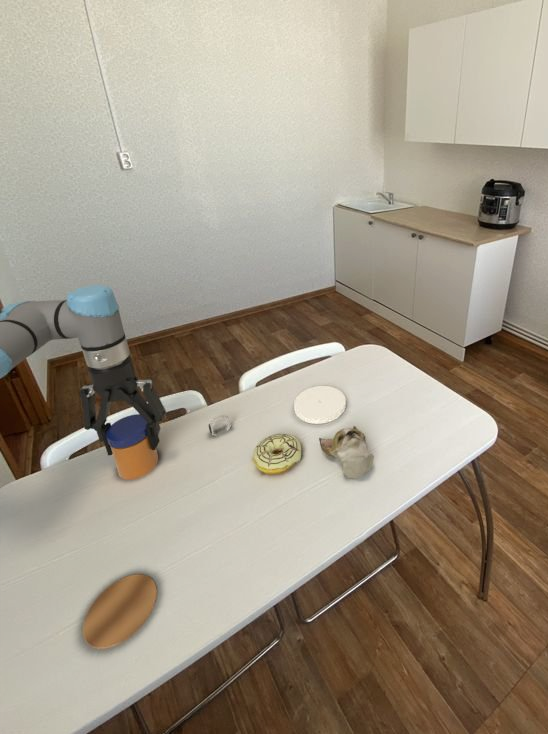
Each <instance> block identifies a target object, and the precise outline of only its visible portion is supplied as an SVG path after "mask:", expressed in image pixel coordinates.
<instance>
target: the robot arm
mask: <svg viewBox="0 0 548 734" xmlns="http://www.w3.org/2000/svg"><path fill="white" fill-rule="evenodd" d="M125 333H126V332H125V330H124V325H123V322H122V317H121V313H120V306H119V304H118V302H117V299H116V296H115V292H114V291H113V289H112V288H111V287H109V286H108V285H103V284H94V285H89V286H83V287H78V288H76V289H74V290H72V291H70V292H68V294H67V295H66V299H57V300H25V301H23V302H22V301H21V302H14V303H10V304H7V305H6V306H4V307H3V308H2V309H1V312H0V379H3V378H4V377H6V376H7V375H8V374H9V373H10V372H11V370H13V369H14V368H15V367H16V366H18V365H20V363H22V362H23V361H25V360H26V359H27V358H28V357H30V356H32V354H34V353H35V352H37V351H39V349H41V348H42V347H43V346H45V345H46V344H47V343H49V342H50V341H55V340H69V339H75V338H76V339H78V342H79V345H80V347H81V350H82V354H83V357H84V360H85V363H86V366H87V367H88V368H87V370H88V375H89V378H90V380H91V383H92V384H90V383H85V384H83V386H81V388H80V390H79V391H78V395H79V397H80V399H81V404H82V405H81V406H82V416H83V417H82V418H83V428H84V430H86V431H89V430H90V429H91V430H94V431H95V432H96V434H97V437H98V440H99V442H101V443H104V447H105V450H106V453H107V456H113V454H112V451H111V447H110V445H109V444H108V441H107V437H106V432H107V430H108V429H109V427H110V426H111V425H112V424H111V422H107V421H108V419H107V418H108V415H109V412H110V408H111V406H112V405H111V404H112V403H115V402H118V401H119V402H125V403H126V404H127V405H130V406H131V407H133V409H134V410H135V411H136V412H137V413H138V414H140V415H141V416H142V417H143V418H144V419H145V420H146V422H147V425H146V431H147V435H148V438H149V442H150V446H151V450H155V449H156V450H157V447H158V446H159V443H160V438H159V433H160V431H161V426H160V423H161V422H163V420H164V418H165V416H166V414H167V410H166V409H165V406H164V404H163V402H162V400H161V398H160V397H159V394H158V392H157V390H156V387H155V386H154V385H155V383H154V378H153V377H148V378H147V379H139V378H138V377H137V375H136V373H135V372H136V371H135V367H134V363H133V362H134V361H133V359H132V358H133V357H132V356H131V355H130V354H131V350H130V348H129V344H128V343H129V342H128V339H127V336H126V334H125ZM138 388H140V390H139V389H138ZM141 392H142V393H143V396H144V397H143V396H142V395H141ZM95 393H96V394H98V396H100V397H101V399H100V402H99V410H98V413H97V414H96V411H97V409H96V396H95V395H96V394H95ZM144 398H145V399H144Z"/></svg>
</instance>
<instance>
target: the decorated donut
mask: <svg viewBox="0 0 548 734" xmlns="http://www.w3.org/2000/svg"><path fill="white" fill-rule="evenodd" d="M252 454H253V456H252V457H253V458H252V459H253V463H254V465H255V467H256V468H257V469H258V471H260V472H262V473H264V474H266V475H273V476H274V475H280V474H283V473H286V472H288V471H289V470H290V469H292V468H293V467H294V466H296V464H297V463H298V462H300V461H301V458H302V445H301V442H300V440H299V439H298V438H297V436H295V435H292V434H287V433H276V434H273V435H269V436H267V437H265V438H263V439H262V440H260V441H259V442H258V443H257V444H256V446H255V448H254V449H253V452H252Z"/></svg>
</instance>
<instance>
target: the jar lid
mask: <svg viewBox="0 0 548 734" xmlns="http://www.w3.org/2000/svg"><path fill="white" fill-rule="evenodd" d="M146 425H147V422H146V420H145V419H144V418H143V417H142V416H141V415H140V414H139V413H138V414H137V413H136V414H130V415H127V416H124V417H122V418H120V419H118V420H117V421H115V422H113V423H112V424H111V426H110V427H109V429H108V430H107V432H106V437H107V441H108V444H109V445H110V446H111V447H114V448H125V447H129V446H132V445H134V444H136V443H138V442H140V441H141V440H143V439H144V438H145V437H146V436H147V431H146Z"/></svg>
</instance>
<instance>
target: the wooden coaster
mask: <svg viewBox="0 0 548 734" xmlns="http://www.w3.org/2000/svg"><path fill="white" fill-rule="evenodd" d="M157 596H158V591H157V586H156V583H155V581H154V580H153V579H152V578H151V577H150V576H148V575H147V574H146V575H145V574H141V573H137V574H130V575H127V576H124V577H122V578H119V579H118V580H116V581H115V582H113V583H112V584H110V585H109V586H108V587H107V588H105V589H104V590H103V591H102V592H101V593H100V594H99V595H98V596H97V597H96V598H95V600H94V601H93V603H92V604H91V606H90V607H89V609H88V611H87V613H86V615H85V617H84V621H83V625H82V635H83V638H84V640H85V642H86V644H87V645H89V646H90V647H91V648H93V649H99V650H103V649H109V648H113V647H115V646H118V645H120V644H122V643H123V642H126V640H129V639H130V638H132V636H133V635H135V634H136V633H137V632H138V631H139V630H140V629H141V628H142V627H143V625H144V624H145V623H146V621H147V620H148V619H149V617H150V615H151V614H152V611H153V610H154V607H155V605H156V601H157Z"/></svg>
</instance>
